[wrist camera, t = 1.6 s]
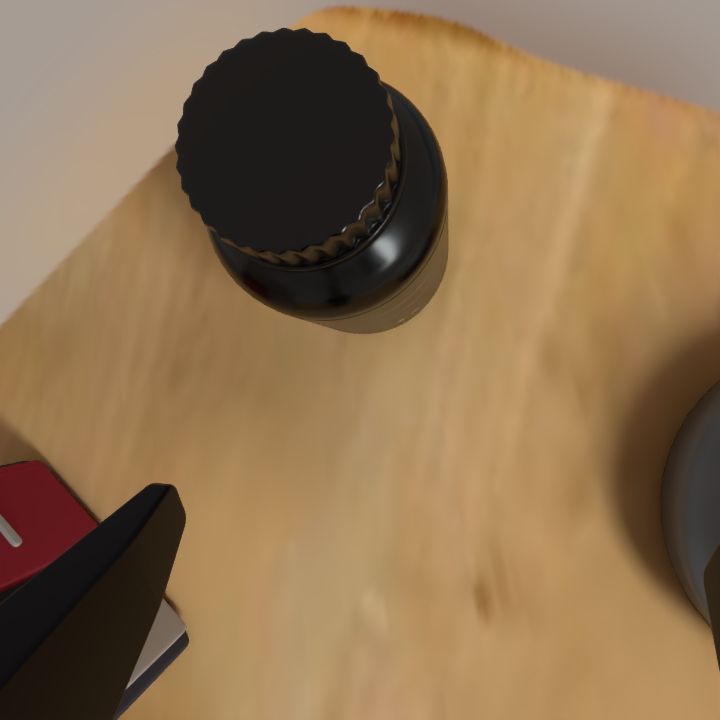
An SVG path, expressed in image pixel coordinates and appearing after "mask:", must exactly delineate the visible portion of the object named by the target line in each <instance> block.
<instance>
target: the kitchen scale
mask: <svg viewBox="0 0 720 720" xmlns="http://www.w3.org/2000/svg"><path fill="white" fill-rule="evenodd" d="M661 521H662V527H663V533H664V539H665V544H666V547H667V550H668V554H669V557H670V560H671V563H672V566H673V568H674V570H675V572H676V575H677V577H678V579H679V581H680V583H681V585H682V587H683V589H684V590H685V592H686V594H687V595H688V597H689V598H690V600H691V602H692V603H693V605H694V606H695V608H696V609H697V610H698V611H699V613H700V614H701V615H702V616H703V617H704V619H705V620H706V621H707V622H708V624H709V625H710V626H711V622H710V617H709V611H708V606H707V600H706V595H705V590H704V584H703V573H704V569H705V567H706V565H707V563H708V561H709V560H710V558H711V556H712V554H713V553H714V551H715V549H716V547H717V545H718V544H719V543H720V380H719V381H718V382H717V383H716V384H715V385H714V386H713V387H712V388H711V389H710V390H709V391H708V392H707V393H706V394H705V395H703V397H702V398H701V399H700V400H699V402H698V403H697V404H696V405H695V407H694V408H693V409H692V410H691V412H690V413H689V414H688V416H687V418H686V420H685V421H684V423H683V425H682V426H681V428H680V430H679V431H678V433H677V435H676V438H675V440H674V443H673V445H672V447H671V450H670V452H669V455H668V459H667V463H666V467H665V471H664V474H663V482H662V491H661Z"/></svg>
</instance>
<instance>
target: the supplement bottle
mask: <svg viewBox="0 0 720 720" xmlns="http://www.w3.org/2000/svg"><path fill="white" fill-rule="evenodd" d="M178 134H179V136H178V139H177V141H176V144H175V148H176V152H177V154H178V161H177V166H176V168H177V170H178V172H179V174H180V175H181V185H182V190H183V191H184V192H185V193H186V194H187V195H188V196H189V200H190V204H191V208H192V209H193V210H194V211H195V212H197V213H198V214H200V215H201V218H202V220H203V222H204V224H205V226H206V227H207V231H208V234H209V237H210V241H211V243H212V246H213V248H214V250H215V253H216V254H217V256H218V258H219V260H220V262H221V263H222V265H223V266H224V268H225V269H226V271H227V272H228V274H229V275H230V276H231V277H232V278H233V280H234V281H235V282H236V283H237V284H238V285H239V286H240V287H241V288H242V289H243V290H244V291H246V292H247V293H248V294H249V295H251V296H252V297H253V298H255V299H256V300H258V301H259V302H261V303H263V304H264V305H266V306H268V307H270V308H272V309H274V310H276V311H278V312H281V313H284V314H286V315H289V316H292V317H295V318H298V319H302V320H305V321H308V322H312V323H315V324H318V325H321V326H325V327H328V328H331V329H335V330H339V331H342V332H348V333H354V334H371V333H378V332H383V331H387V330H390V329H392V328H395V327H397V326H399V325H402V324H403V323H405V322H407V321H409V320H410V319H411V318H413V317H414V316H416V315H417V314H418V313H419V312H420V311H421V310H422V309H423V308H424V307H425V306H426V305H427V304H428V303H429V301H430V300H431V299H432V297H433V296H434V294H435V293H436V291H437V289H438V287H439V285H440V283H441V281H442V278H443V276H444V273H445V269H446V265H447V259H448V180H447V173H446V167H445V163H444V159H443V155H442V151H441V149H440V146H439V143H438V140H437V138H436V136H435V134H434V132H433V130H432V128H431V127H430V125H429V123H428V122H427V120H426V119H425V117H424V116H423V115H422V114H421V112H420V111H419V110H418V109H417V108H416V106H415V105H414V104H413V103H412V102H411V101H410V100H409V99H408V98H406V97H405V96H404V95H403V94H402V93H401V92H399V91H398V90H396V89H395V88H393V87H392V86H390V85H388V84H387V83H385V82H383V81H381V80H380V77H379V74H378V73H377V72H376V71H375V70H373V69H372V68H370V67H368V65H367V62H366V60H365V58H364V57H363V55H360V54H358V53H356V52H353V51H351V49H350V47H349V46H348V45H347V44H346V42H342V41H336V40H333V39H332V38H331V37H330V36H329V35H328V34H327V33H313V32H311V31H310V30H308V29H306V28H303V29H298V30H294V31H293V30H290V29H287V28H281V29H279V30H277V31H275V32H261V33H259V34H258V35H256V36H255V37H253V38H251V39H242V40H241V41H240V42H239V43H238V44H237V45H236V46H235V47H234V48H231V49H228V50H225V51H223V52H222V54H221V55H220V56H219V58H218V60H217V61H215V62H213V63H212V64H210V65H208V66H207V67H206V69H205V71H204V74H203V76H202V77H201V78H200V79H199V80H198V81H196V82H195V83H194V85H193V88H192V92H191V95H190V97H189V98H188V99H187V100H186V101H185V103H184V106H183V116H182V118H181V119H180V121H179V123H178Z"/></svg>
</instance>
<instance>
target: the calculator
mask: <svg viewBox="0 0 720 720" xmlns="http://www.w3.org/2000/svg"><path fill="white" fill-rule="evenodd" d="M96 526H98V525H97V524H96V523H95V522H94V520H93V519H92V518H91V517H90V516H89V515H88V514H87V513H86V511H85V510H84V509H83V508H82V507H81V506H80V505H79V504H78V503H77V501H76V500H75V499H74V498H73V497H72V496H71V495H70V494H69V492H68V491H67V490H66V489H65V488H64V487H63V486H62V485H61V483H60V482H59V481H58V480H57V479H56V478H55V477H54V476H53V474H52V473H51V472H50V471H49V470H48V469H47V468H46V467H45V466H44V465H43V464H42V463H41V462H40V461H22V462H17V463H12V464H7V465H2V466H0V603H1V602H3V601H4V600H5V599H6V598H8V597H9V596H10V595H11V594H13V593H14V592H15V591H16V590H18V589H19V588H20V587H21V586H23V585H24V584H25V583H26V582H28V581H29V580H30V579H31V578H33V577H34V576H35V575H36V574H38V573H39V572H40V571H41V570H43V569H44V568H45V567H46V566H48V565H49V564H50V563H51V562H53V561H54V560H55V559H56V558H58V557H59V556H60V555H61V554H63V553H64V552H65V551H66V550H68V549H69V548H70V547H71V546H73V545H74V544H75V543H76V542H78V541H79V540H80V539H81V538H83V537H84V536H85V535H86V534H88V533H89V532H90V531H91V530H93V529H94V528H95V527H96ZM185 630H186V625H185V623H184V622H183V621H182V619H181V618H180V617H179V616H178V615H177V614H176V613H175V611H174V610H173V609H172V608H171V607H170V606H169V605H168V604H167V602H166V601H165V600H164V599H163V600H162V603H161V606H160V608H159V611H158V613H157V616H156V619H155V621H154V623H153V626H152V628H151V631H150V633H149V635H148V638H147V640H146V642H145V645H144V647H143V650H142V652H141V654H140V657H139V659H138V662H137V664H136V666H135V669H134V671H133V673H132V676H131V678H130V681H129V683H128V685H127V688H126V690H125V692H124V695H123V697H122V700H121V702H120V704H119V707H118V709H117V712H116V714H115V716H114V719H113V720H117V719H118V718H119V717H120V716H121V715H122V714H123V713H124V712H125V711H126V710H127V709H128V708H129V707H130V706H131V705H132V703H133V702H134V701H135V700H136V699H137V698H138V697H139V696H140V695H141V694H142V693H143V692H144V691H145V690H146V689H147V688H148V687H149V686H150V685H151V684H152V683H153V682H154V681H155V680H156V679H157V678H158V676H159V675H160V674H161V673H162V672H163V671H164V670H165V669H166V668H167V667H168V666H169V665H170V664H171V663H172V662H173V661H174V660H175V659H176V658H177V657H178V656H179V655H180V654H181V653H182V651H183V650H184V649H185V648H186V647H187V646H188V643H189V638H188V635H187V634H186V632H185Z"/></svg>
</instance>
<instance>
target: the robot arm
mask: <svg viewBox="0 0 720 720" xmlns="http://www.w3.org/2000/svg"><path fill="white" fill-rule="evenodd" d="M185 523H186V514H185V510H184V507H183V505H182V502H181V500H180V497H179V494H178V492H177V489H176V487H175V486H173V485H171V484H162V483H152V484H150V485H148V486H147V487H145V488H144V489H143V490H141V491H140V492H139V493H138V494H136V495H135V496H134V497H133V498H131V499H130V500H129V501H128V502H126V503H125V504H124V505H123V506H121V507H120V508H119V509H118V510H116V511H115V512H114V513H113V514H111V515H110V516H109V517H108V518H106V519H105V520H104V521H103V522H101V523H100V524H99V525H98V526H96V527H95V528H94V529H93V530H91V531H90V532H89V533H88V534H86V535H85V536H84V537H83V538H81V539H80V540H79V541H78V542H76V543H75V544H74V545H73V546H71V547H70V548H69V549H68V550H66V551H65V552H64V553H63V554H61V555H60V556H59V557H58V558H56V559H55V560H54V561H53V562H51V563H50V564H49V565H48V566H46V567H45V568H44V569H43V570H41V571H40V572H39V573H38V574H36V575H35V576H34V577H33V578H31V579H30V580H29V581H28V582H26V583H25V584H24V585H23V586H21V587H20V588H19V589H18V590H16V591H15V592H14V593H13V594H11V595H10V596H9V597H8V598H6V599H5V600H4V601H3V602H1V603H0V720H113V719H114V716H115V714H116V712H117V709H118V707H119V704H120V702H121V700H122V697H123V695H124V692H125V690H126V688H127V685H128V683H129V681H130V678H131V676H132V673H133V671H134V669H135V666H136V664H137V662H138V659H139V657H140V654H141V652H142V650H143V647H144V645H145V642H146V640H147V638H148V635H149V633H150V631H151V628H152V626H153V623H154V621H155V619H156V616H157V613H158V611H159V608H160V606H161V603H162V600H163V597H164V594H165V590H166V587H167V584H168V580H169V577H170V574H171V570H172V567H173V564H174V560H175V557H176V554H177V550H178V547H179V544H180V541H181V537H182V534H183V531H184V527H185ZM703 584H704V590H705V595H706V600H707V606H708V611H709V617H710V622H711V628H712V633H713V638H714V644H715V649H716V655H717V660H718V666H719V670H720V543H719V544H718V545H717V547H716V549H715V551H714V553H713V554H712V556H711V558H710V560H709V561H708V563H707V565H706V567H705V569H704V573H703Z"/></svg>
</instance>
